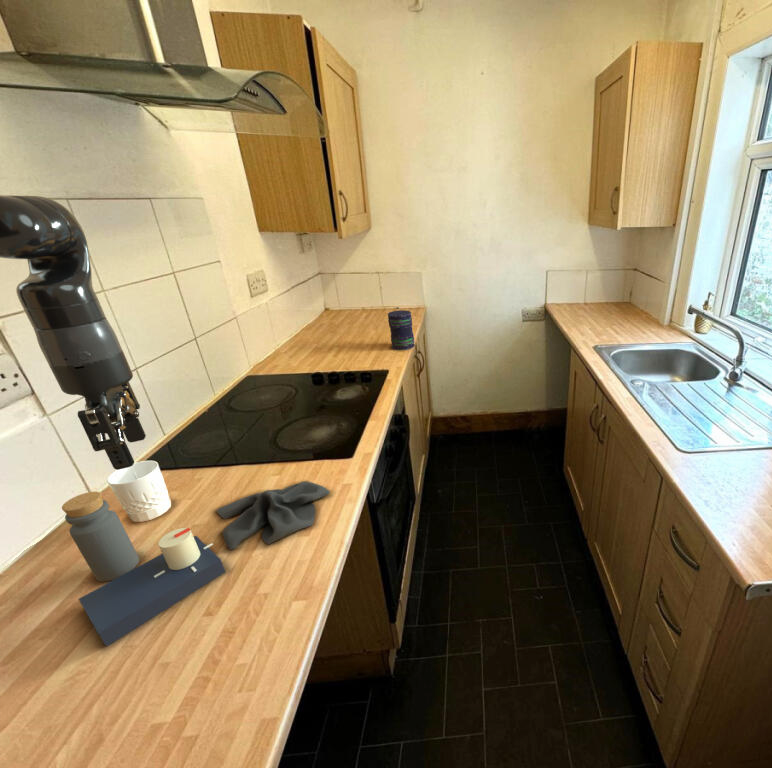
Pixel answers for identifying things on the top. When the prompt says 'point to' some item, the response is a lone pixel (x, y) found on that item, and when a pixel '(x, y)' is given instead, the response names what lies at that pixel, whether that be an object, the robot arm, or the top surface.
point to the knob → (179, 548)
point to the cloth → (272, 513)
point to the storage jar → (401, 329)
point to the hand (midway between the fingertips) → (131, 453)
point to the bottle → (100, 536)
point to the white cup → (141, 490)
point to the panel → (146, 593)
